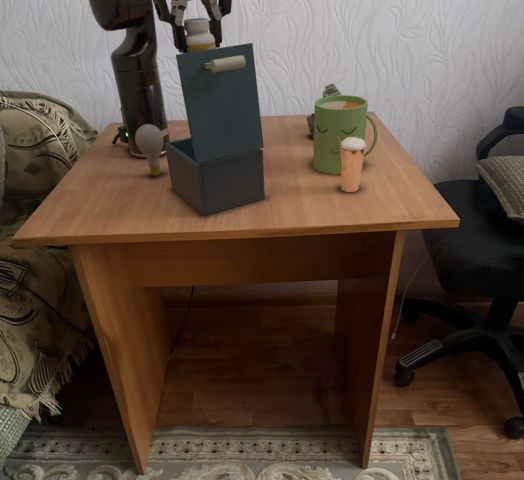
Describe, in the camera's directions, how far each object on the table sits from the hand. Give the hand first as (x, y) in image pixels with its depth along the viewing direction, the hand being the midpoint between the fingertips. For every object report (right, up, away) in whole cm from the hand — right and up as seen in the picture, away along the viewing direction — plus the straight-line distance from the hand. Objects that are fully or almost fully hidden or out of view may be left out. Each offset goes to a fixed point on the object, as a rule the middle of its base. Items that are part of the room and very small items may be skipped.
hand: (199, 49), depth 81 cm
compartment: (+2, -20, +12) cm, 24 cm away
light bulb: (-12, -14, +21) cm, 27 cm away
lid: (+4, -11, -3) cm, 12 cm away
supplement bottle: (0, -4, +4) cm, 6 cm away
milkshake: (+27, -20, +11) cm, 35 cm away
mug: (+27, -12, +20) cm, 36 cm away
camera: (+26, +1, +35) cm, 44 cm away
